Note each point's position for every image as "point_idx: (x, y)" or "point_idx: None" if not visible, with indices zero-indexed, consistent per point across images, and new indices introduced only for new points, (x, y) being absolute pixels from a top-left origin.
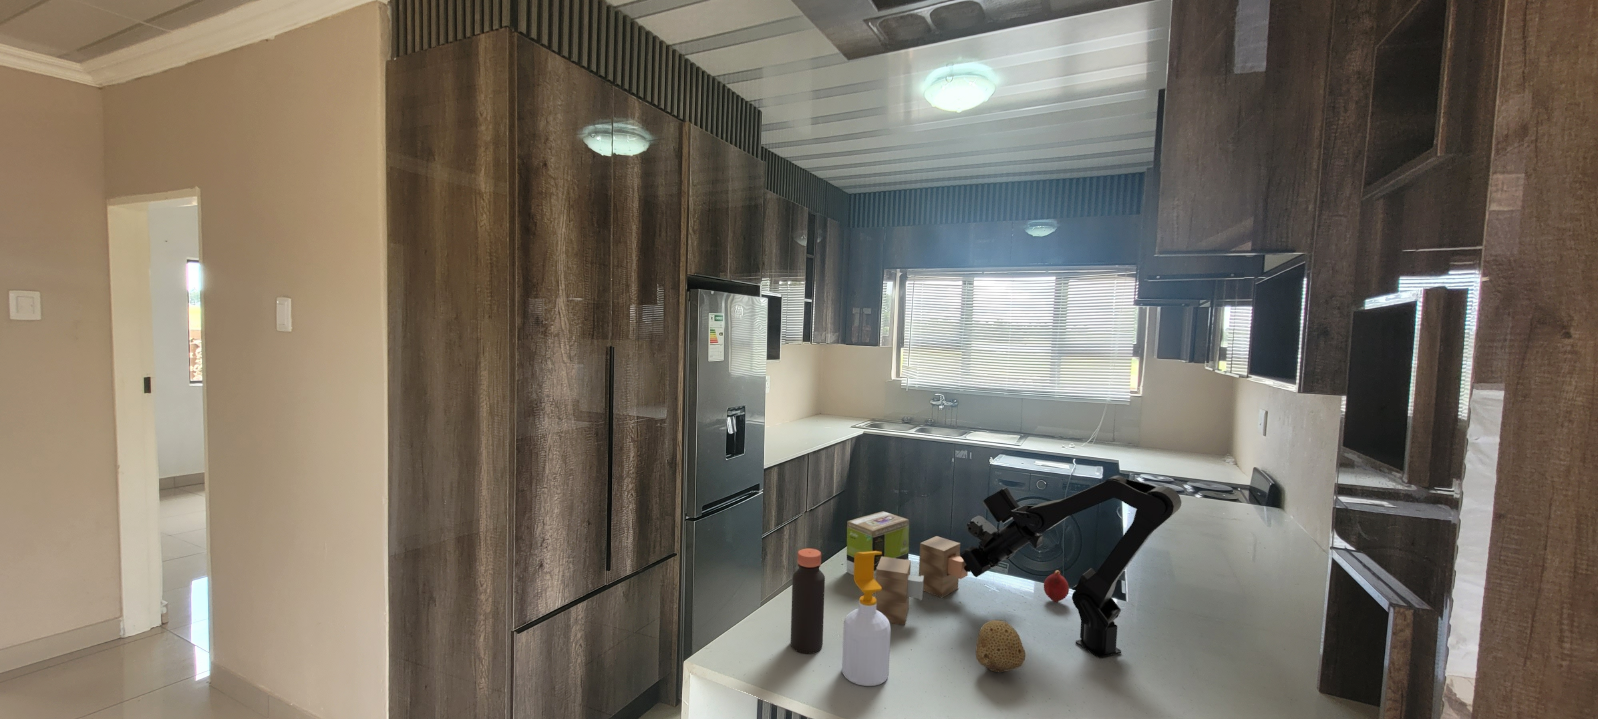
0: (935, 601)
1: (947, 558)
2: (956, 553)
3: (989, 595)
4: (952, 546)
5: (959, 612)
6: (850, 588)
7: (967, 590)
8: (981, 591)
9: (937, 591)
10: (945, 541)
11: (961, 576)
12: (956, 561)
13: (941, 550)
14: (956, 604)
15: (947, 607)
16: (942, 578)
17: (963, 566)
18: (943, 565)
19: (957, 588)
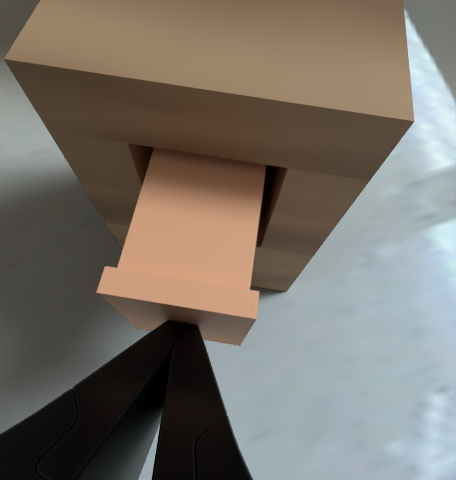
0: (75, 257)
1: (124, 153)
2: (297, 177)
3: (326, 474)
4: (226, 87)
5: (6, 402)
6: (28, 5)
7: (297, 339)
8: (341, 410)
9: None
10: (326, 3)
11: (142, 326)
12: (130, 237)
13: (23, 40)
14: (96, 352)
15: (37, 327)
16: (105, 221)
17: (155, 315)
18: (75, 172)
19: (279, 290)
